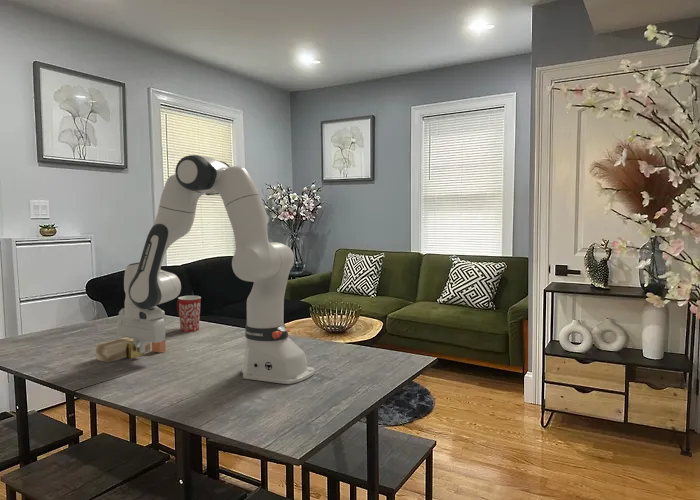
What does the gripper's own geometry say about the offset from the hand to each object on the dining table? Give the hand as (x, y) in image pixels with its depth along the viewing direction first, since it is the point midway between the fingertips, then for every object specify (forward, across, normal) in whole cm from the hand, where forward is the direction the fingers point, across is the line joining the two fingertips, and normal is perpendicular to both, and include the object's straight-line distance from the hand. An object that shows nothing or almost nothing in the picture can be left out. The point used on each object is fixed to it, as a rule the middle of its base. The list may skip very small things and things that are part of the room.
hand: (140, 352), depth 162 cm
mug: (+2, -18, +36) cm, 41 cm away
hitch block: (+2, -7, -1) cm, 8 cm away
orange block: (+2, -1, +8) cm, 8 cm away
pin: (+2, -10, 0) cm, 10 cm away
